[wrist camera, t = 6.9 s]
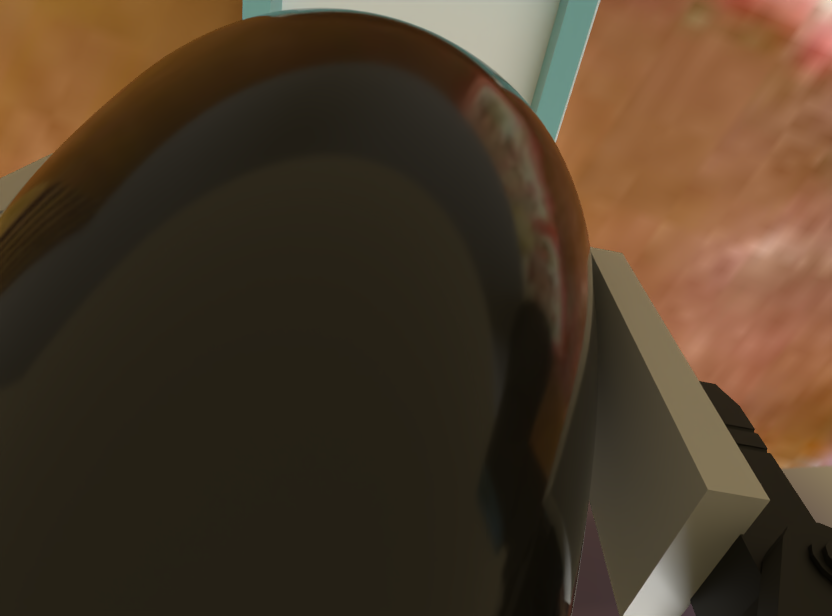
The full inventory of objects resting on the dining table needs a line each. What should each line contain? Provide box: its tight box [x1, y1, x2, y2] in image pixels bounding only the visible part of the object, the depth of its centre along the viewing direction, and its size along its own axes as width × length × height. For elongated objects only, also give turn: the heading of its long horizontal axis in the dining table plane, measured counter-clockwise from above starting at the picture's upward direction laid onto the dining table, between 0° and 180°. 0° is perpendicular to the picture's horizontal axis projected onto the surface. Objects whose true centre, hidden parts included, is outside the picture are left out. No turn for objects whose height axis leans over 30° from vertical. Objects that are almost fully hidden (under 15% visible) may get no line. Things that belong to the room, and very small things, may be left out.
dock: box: [242, 0, 600, 143], centre depth 28 cm, size 16×16×3 cm
